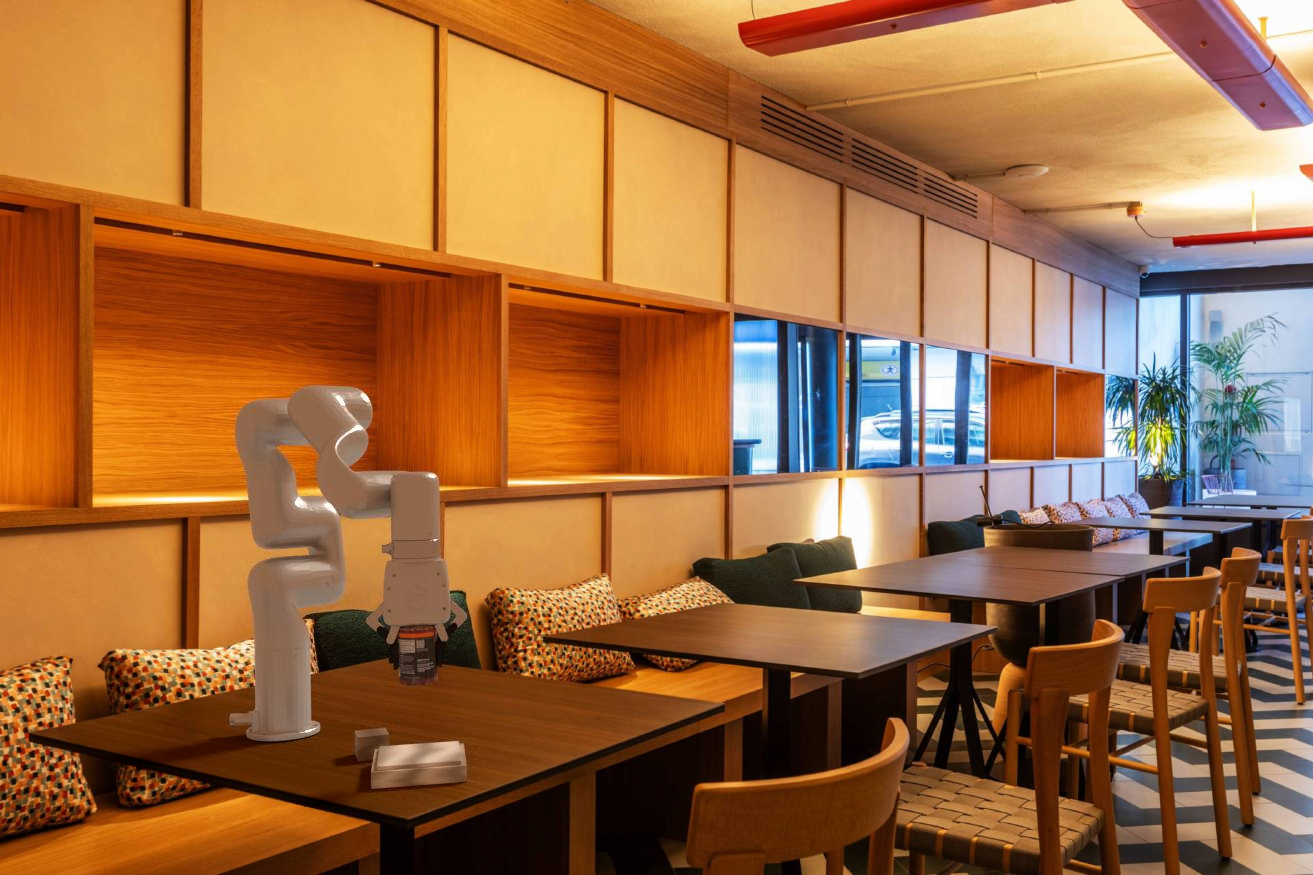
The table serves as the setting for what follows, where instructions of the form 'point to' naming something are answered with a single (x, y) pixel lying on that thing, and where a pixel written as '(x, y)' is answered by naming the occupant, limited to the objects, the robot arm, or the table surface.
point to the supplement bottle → (417, 655)
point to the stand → (418, 764)
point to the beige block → (369, 742)
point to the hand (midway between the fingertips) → (417, 665)
